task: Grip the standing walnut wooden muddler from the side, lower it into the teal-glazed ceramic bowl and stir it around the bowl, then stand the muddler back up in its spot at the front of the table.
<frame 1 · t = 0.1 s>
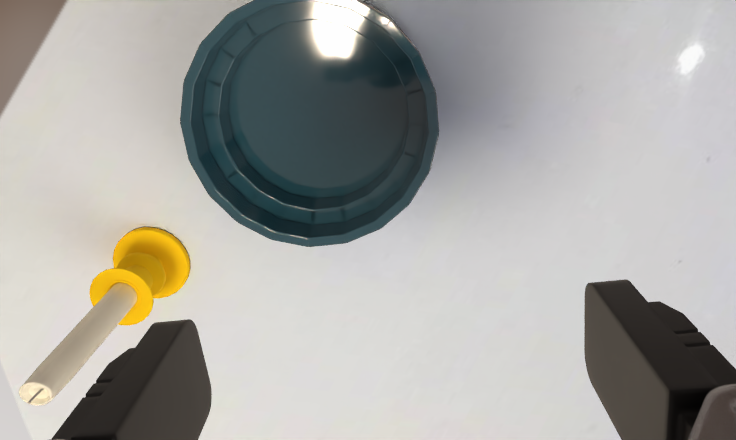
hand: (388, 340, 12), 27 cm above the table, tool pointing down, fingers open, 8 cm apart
bowl: (318, 111, 38), on the table
candle: (154, 260, 42), on the table
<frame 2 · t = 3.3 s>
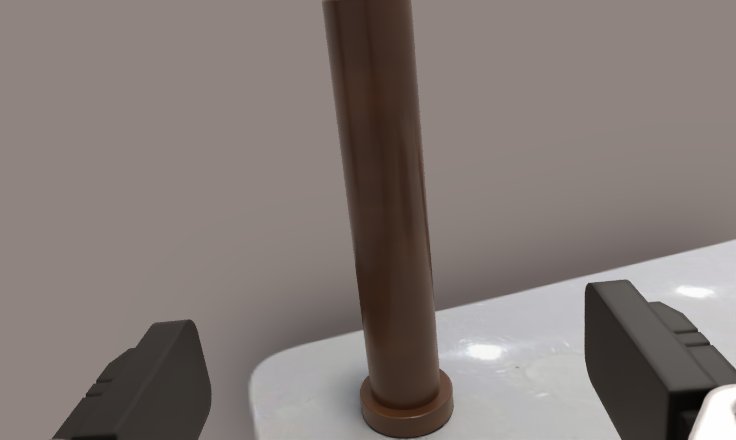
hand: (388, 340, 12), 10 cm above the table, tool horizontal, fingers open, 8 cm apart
muddler: (407, 406, 26), on the table
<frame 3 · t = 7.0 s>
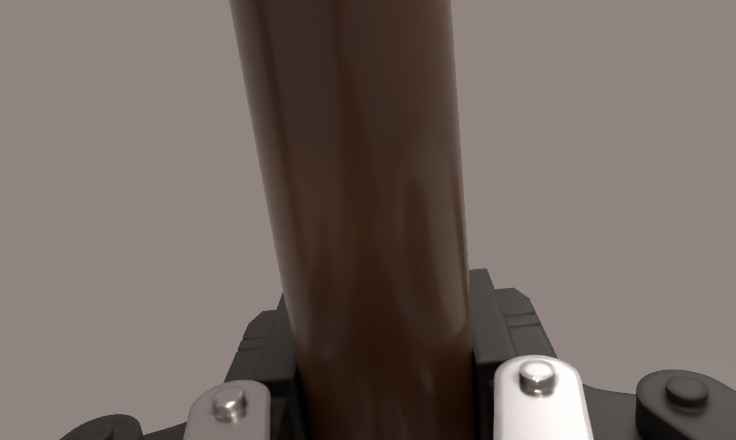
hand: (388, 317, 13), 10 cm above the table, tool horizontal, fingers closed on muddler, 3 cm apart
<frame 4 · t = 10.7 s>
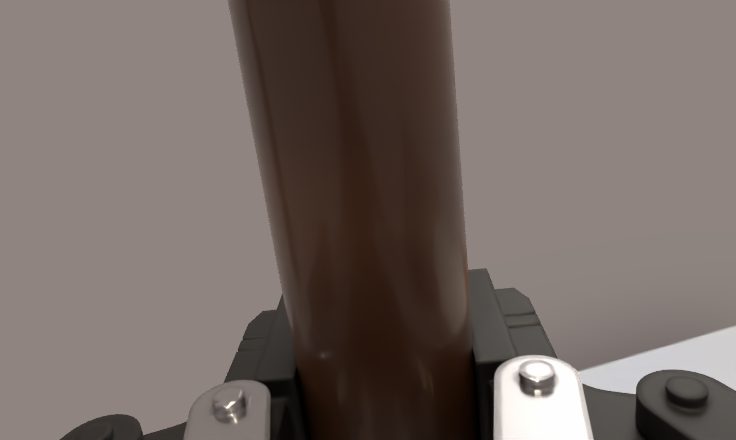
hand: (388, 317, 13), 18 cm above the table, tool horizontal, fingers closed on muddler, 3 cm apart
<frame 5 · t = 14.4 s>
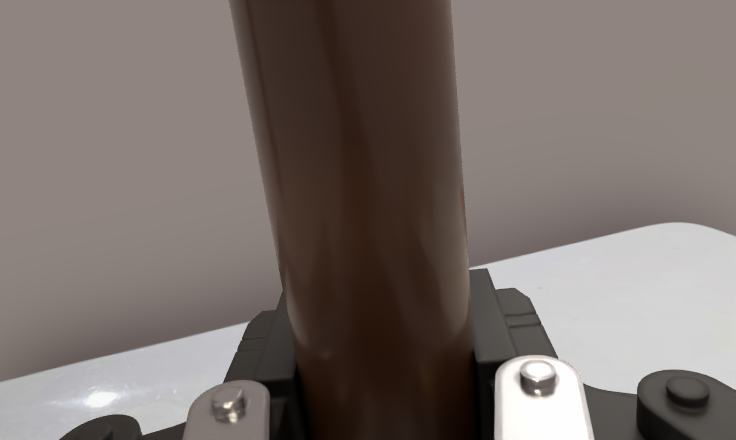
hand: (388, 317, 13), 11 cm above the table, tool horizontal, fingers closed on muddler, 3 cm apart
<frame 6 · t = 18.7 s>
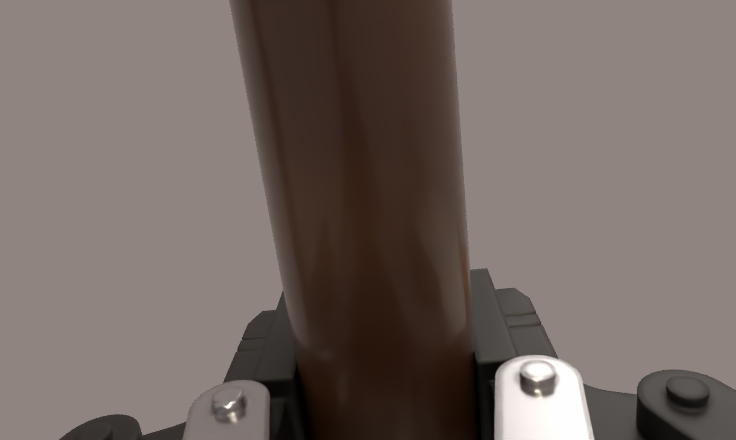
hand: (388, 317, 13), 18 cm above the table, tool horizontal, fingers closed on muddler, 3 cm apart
when the fingers open (10 cm above the table, at t = 22.0 s): muddler stays where it is, on the table.
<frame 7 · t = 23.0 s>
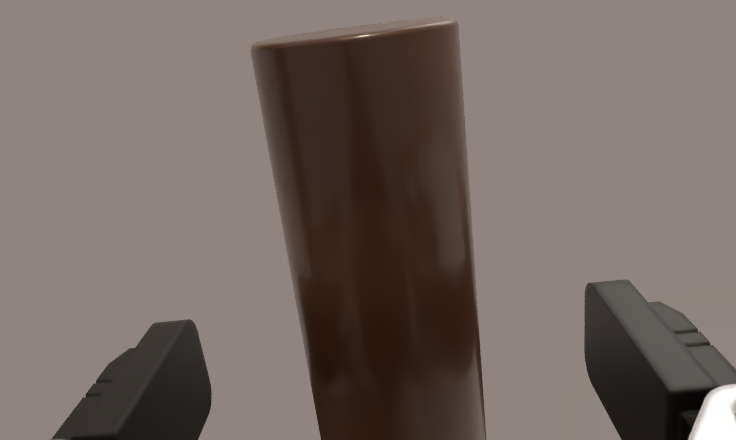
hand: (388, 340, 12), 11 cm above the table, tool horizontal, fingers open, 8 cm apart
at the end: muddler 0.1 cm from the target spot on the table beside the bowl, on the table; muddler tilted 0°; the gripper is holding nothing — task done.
